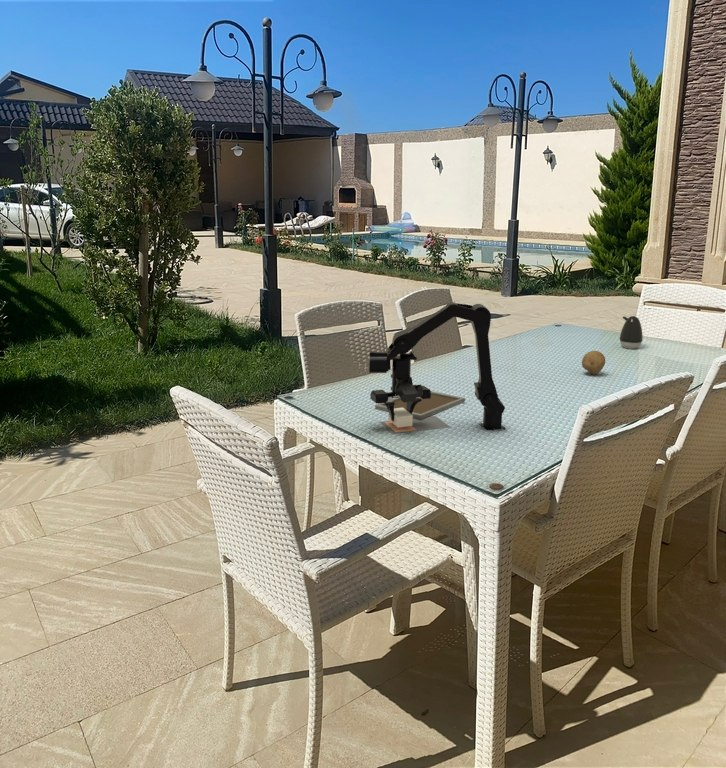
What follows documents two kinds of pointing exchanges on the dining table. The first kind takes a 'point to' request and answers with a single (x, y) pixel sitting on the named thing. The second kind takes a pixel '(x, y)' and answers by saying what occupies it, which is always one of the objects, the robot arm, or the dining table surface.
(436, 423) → the mat
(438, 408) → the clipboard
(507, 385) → the dining table surface
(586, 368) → the brown potato
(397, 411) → the beige rectangular block
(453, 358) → the dining table surface
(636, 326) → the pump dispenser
